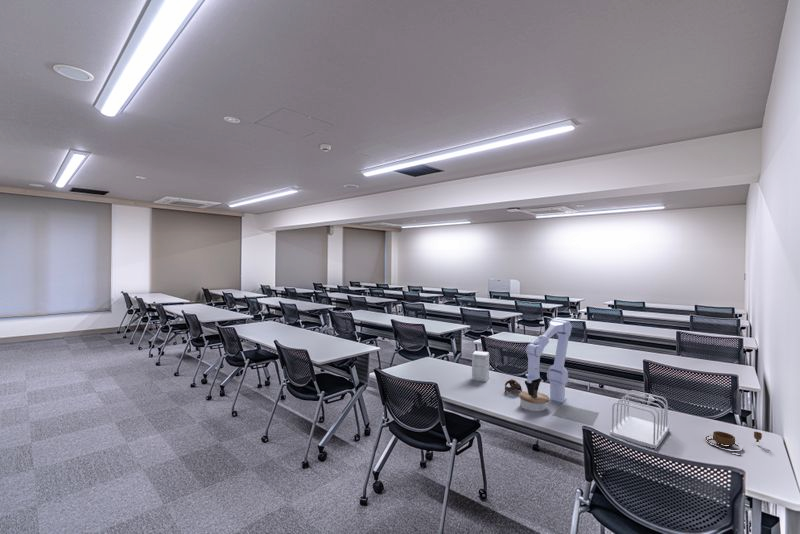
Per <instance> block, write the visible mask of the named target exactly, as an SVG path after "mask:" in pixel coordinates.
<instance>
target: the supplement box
mask: <svg viewBox="0 0 800 534" xmlns="http://www.w3.org/2000/svg"><path fill="white" fill-rule="evenodd" d="M471 355H472V356H471V380H472V381H477V382H479V381H480V382H487V381H488V380H489V378H490V352H489V351H479V350H475V351H474V352H473V353H472V354H471Z"/></svg>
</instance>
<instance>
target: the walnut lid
mask: <svg viewBox="0 0 800 534" xmlns="http://www.w3.org/2000/svg"><path fill="white" fill-rule="evenodd" d="M518 398H519V399H522V400H524V401H527V402H531V403H539V404H541V403H549V402H550V399H549V396H548V394H545V393H542V392H540V391H537V390H534V394H533V396H531V395H529V394H528V390H527V391H525V390H524V391H522V392H521V391H520V392H519V393H518Z"/></svg>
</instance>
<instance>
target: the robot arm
mask: <svg viewBox="0 0 800 534" xmlns="http://www.w3.org/2000/svg"><path fill="white" fill-rule="evenodd" d="M572 329H573V326H572V323H571V322H570V321H569V320H562V319H556V318H552V319H551V320H550V321H549V324H548V328H547V329H546V330H545V332H544V333H543V334H540V335H538V337H537V338H535V340H534V341H533V342H532V343H528V344H527V345H526V348H525V352H526V356H527V358H528V359H527V373H525V376H526V377H527V378H526V380H525V381H524V385H525V387H526V390H527V391H528V394H529V395H531V396H533V394H534V390H537V392H539V387H540V384H541V382H542V380H543V378H542V377H540V369H541V368H540V365H541V364H540V362H541V361H540V360H541V356H542V355H543V351H544V349H545V347H546V346H548V344H549V342H550V341H549V340H550V339H551V338H552V337H553V336H554V335H555V334H556V335H557V337H558V338H557V344H556V351H555V355H554V361H553V364H552V365H550V366H548V367H549V368H548V371H547V373H546V378H547V380H548V382H549V396H548V397H549V401H555V402H559V403H563V402H564V401H565V400H566V399H567V396H566V385H567V383H568V381H569V371H568V370H567V368H566V367H565V362H566V356H567V351H568V344H569V343H568V342H569V338H570V337H571V334H572Z"/></svg>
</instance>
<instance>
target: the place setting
mask: <svg viewBox="0 0 800 534" xmlns="http://www.w3.org/2000/svg"><path fill="white" fill-rule="evenodd" d="M712 433H713V435H712V436H713V439H712V440H714V442H715V443H716V444H715V443H713V442H712V441H710V440H707V437H709V436H710V435H707V436H705V441H706V440H707V441H708V442H710V443H712V444H714V445H717V446H720V447H722V446H721V445H719V444H723V445H729V446H730V447H732V445H733V446H734V444H735V441H736V440H735V439H736V437H735V436H734V435H733V434H730V433H729V432H725V431H724V432H723V431H719V430H718V431H717V430H715V431H713V432H712ZM762 437H763V434H762V432H760V431H753V438H754V439H755V443H756V442H759V443H760V440H762ZM707 441H706V442H707ZM718 443H719V444H718Z"/></svg>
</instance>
